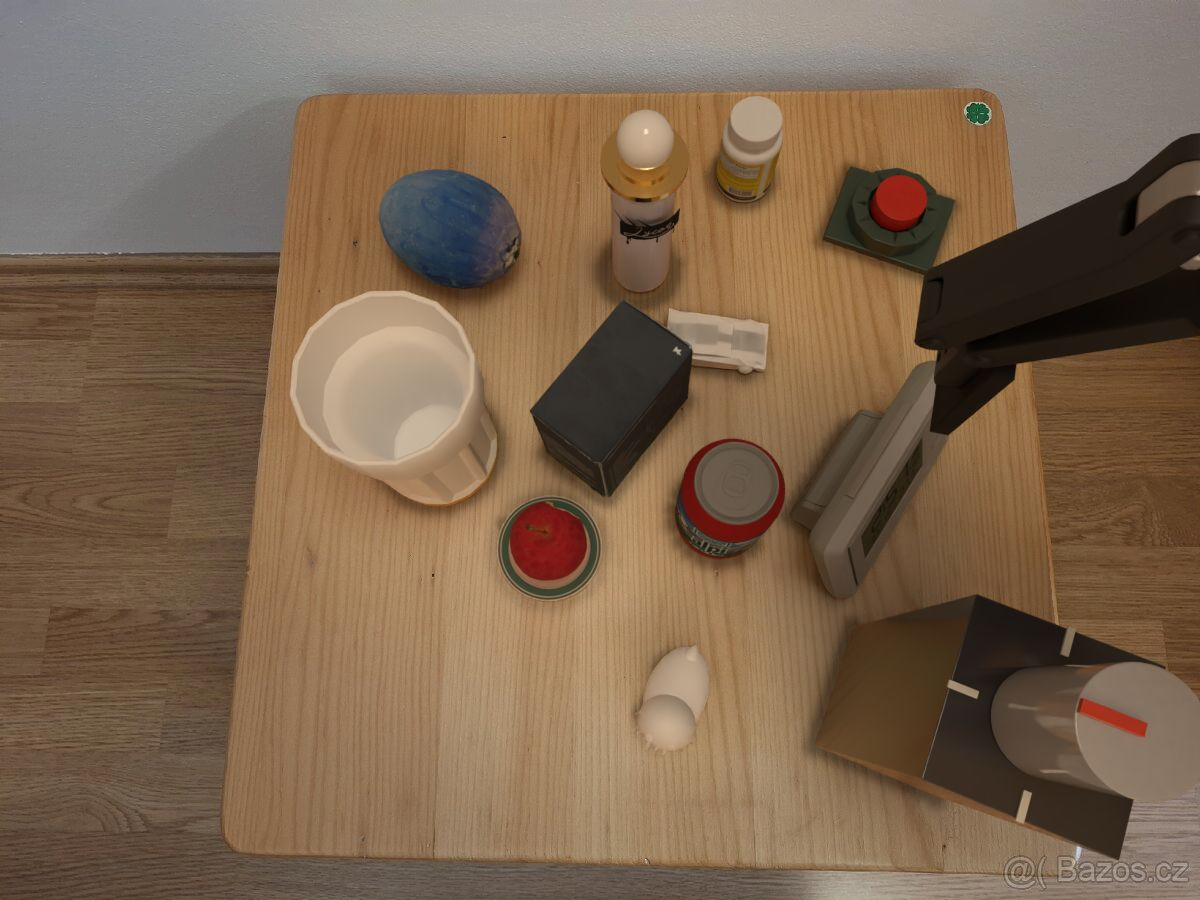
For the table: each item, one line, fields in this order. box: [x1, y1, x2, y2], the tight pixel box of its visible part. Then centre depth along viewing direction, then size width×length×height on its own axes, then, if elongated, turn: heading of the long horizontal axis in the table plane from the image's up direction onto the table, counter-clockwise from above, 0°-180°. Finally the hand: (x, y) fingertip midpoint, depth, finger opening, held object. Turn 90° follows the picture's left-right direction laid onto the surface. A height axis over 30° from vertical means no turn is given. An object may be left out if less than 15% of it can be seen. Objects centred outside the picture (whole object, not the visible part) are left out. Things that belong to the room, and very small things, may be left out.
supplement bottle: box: [715, 95, 784, 203], centre depth 71 cm, size 5×5×8 cm
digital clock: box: [789, 360, 950, 599], centre depth 63 cm, size 16×9×11 cm, turn 134°
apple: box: [496, 495, 603, 602], centre depth 65 cm, size 8×8×6 cm
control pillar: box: [813, 593, 1166, 861], centre depth 52 cm, size 9×9×24 cm
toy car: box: [666, 307, 770, 375], centre depth 70 cm, size 5×8×2 cm, turn 83°
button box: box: [822, 165, 956, 275], centre depth 73 cm, size 9×7×2 cm
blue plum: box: [378, 168, 553, 290], centre depth 70 cm, size 9×9×15 cm
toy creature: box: [632, 644, 711, 759], centre depth 62 cm, size 5×8×6 cm, turn 157°
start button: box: [870, 175, 927, 231], centre depth 71 cm, size 4×4×2 cm
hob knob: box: [991, 662, 1200, 803], centre depth 37 cm, size 5×5×8 cm
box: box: [529, 299, 693, 498], centre depth 65 cm, size 11×7×10 cm, turn 142°
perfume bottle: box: [599, 108, 690, 293], centre depth 64 cm, size 6×6×20 cm
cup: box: [288, 289, 499, 507], centre depth 62 cm, size 11×11×17 cm
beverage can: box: [674, 438, 786, 560], centre depth 62 cm, size 7×7×12 cm
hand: (1115, 437), depth 36 cm, fingers open, 13 cm apart
